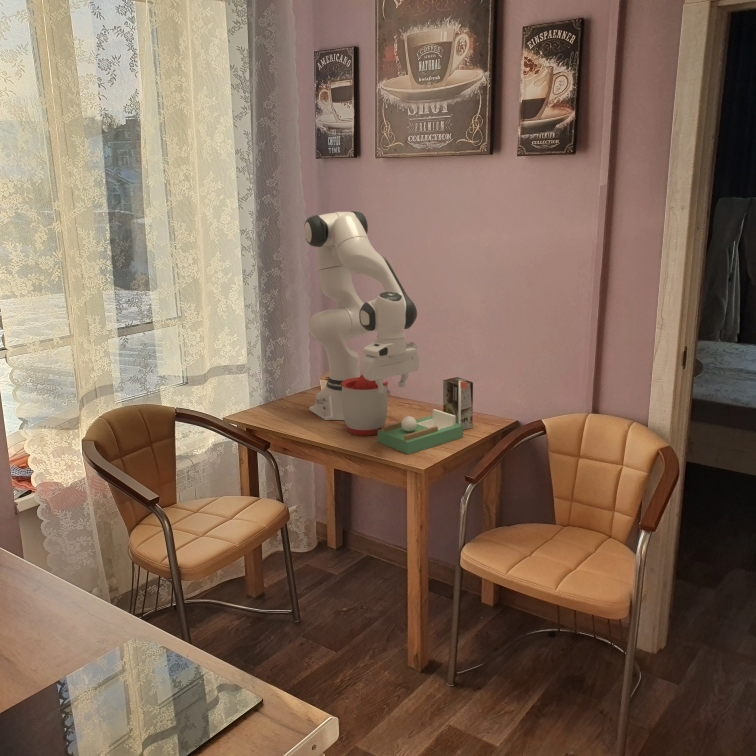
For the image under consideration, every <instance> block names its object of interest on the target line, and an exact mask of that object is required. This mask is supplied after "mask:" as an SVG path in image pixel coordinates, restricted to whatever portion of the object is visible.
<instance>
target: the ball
mask: <svg viewBox="0 0 756 756" xmlns="http://www.w3.org/2000/svg"><path fill="white" fill-rule="evenodd" d="M416 420H417V419H415V417H413V416H411V415H407V416H405V417H404V418H403V419H402V420H401V421H402V422H401V421H400V422H401V426H402V428H403V429H404V430H405V431H407V432H411V431H413V430H415V428H416V426H417V422H416Z"/></svg>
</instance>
